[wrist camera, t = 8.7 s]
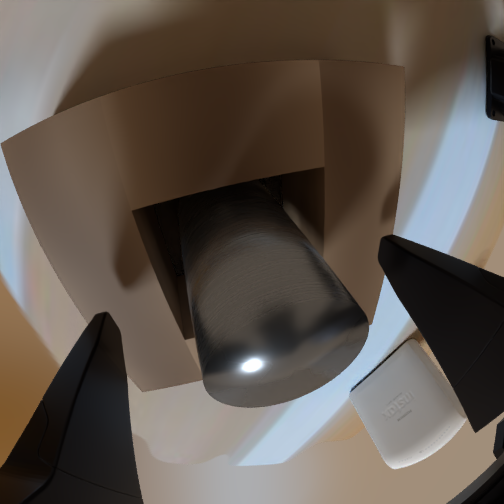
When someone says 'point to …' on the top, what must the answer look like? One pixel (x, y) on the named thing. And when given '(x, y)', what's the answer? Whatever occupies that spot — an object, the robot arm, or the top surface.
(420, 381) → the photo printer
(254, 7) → the top surface
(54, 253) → the socket block
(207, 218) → the grey metal cylinder
